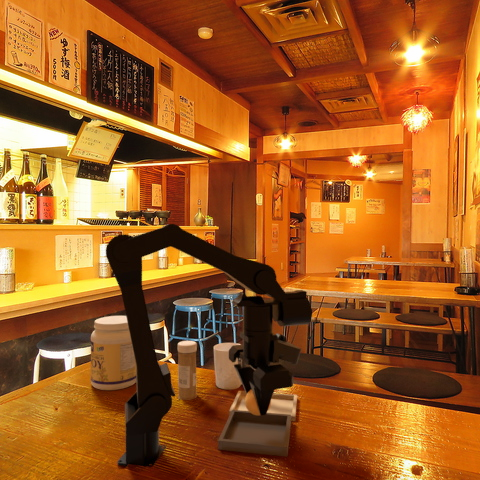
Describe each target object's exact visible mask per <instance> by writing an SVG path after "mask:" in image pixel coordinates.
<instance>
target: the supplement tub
mask: <svg viewBox="0 0 480 480" xmlns="http://www.w3.org/2000/svg"><path fill="white" fill-rule="evenodd" d="M93 329H94V330H93V331H92V333H91V335H90V383H91V385H92V387H94V388H95V389H98V390H101V391H115V390H116V391H117V390H123V389H126V388H129V387H131V386H133V385H134V384H135V383H136V361H135V356H134V351H133V346H132V341H131V336H130V332H129V327H128V322H127V317H126V315H110V316H109V315H108V316H104V317H100V318H97V319H96V320H94V325H93Z"/></svg>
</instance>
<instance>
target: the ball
mask: <svg viewBox="0 0 480 480" xmlns="http://www.w3.org/2000/svg"><path fill="white" fill-rule="evenodd" d="M245 405H246V408H247V409H248V411H249V412H250V413H252V414H254V415H260V412H259V410H258V407H257V404H256V401H255V397H254V394H253V391H252V389H251V390H250V391H249V392H248V393H247V395H246V398H245ZM270 405H271V401H270V404H269V407H268V410H269V408H270ZM268 410H267V411H268Z"/></svg>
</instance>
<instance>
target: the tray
mask: <svg viewBox="0 0 480 480" xmlns="http://www.w3.org/2000/svg"><path fill="white" fill-rule="evenodd" d="M246 395H247V394H246V392H245V390H238V391H237V393H236V396H235V398H234V399H233V403H231V406H230V408H229V411H228V415H229V416H230V413H231V411H232V410H241V411H248V409H247V408H246V405H245V398H246ZM297 402H298V394H290V393H289V394H288V393H275V392H274V393H273V395H272V398H271V405H270V408H269V410H268V411H267V413H277V414H290V415H291V422H296V417H297V404H298V403H297Z"/></svg>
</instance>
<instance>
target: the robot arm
mask: <svg viewBox="0 0 480 480" xmlns="http://www.w3.org/2000/svg"><path fill="white" fill-rule="evenodd" d="M170 247H171V248H173V249H175V250H177V251H180V252H181V253H184V254H185V255H188V256H190V257H192V258H193V259H197V260H198V261H200V262H202V263H204V264H206V265H208V266H211V267H213V268H215V269H216V270H219V271H221V272H223V273H224V274H225V275H226V276H228V277H229V278H230V279H231V280H233V281H234V282H235V283H237V284H238V285H240V286H241V287H242V288H244V289H245V290H247V291H249V292H252V293H254V294H257V295H249V296H248V295H246V293H244V292H242V291H241V292H240V293H239V294H238V296H236V297H235V298H233V300H232V302H231V303H232V304H233V306H236V307H238V308H242V331H239V337H240V338H241V339H242V344H241V345H233V346H232V347H231V348H230V349H229V360H231V361H232V362H236V358H238V364H235V365H234V368H235V369H236V371H237V374H238V376H239V378H240V380H241V383H242V385H241V386H243V389H244V390H243V391H245V392H246V394H247V393H248V392H249V391H250V390H251V389H252V391H253V394H254V397H255V401H256V404H257V407H258V410H259V412H260V415H266V413H267V410H268V407H269V404H270V401H271V398H272V395H273V393H275V390H280V389H288V388H292V387H293V386H294V374H293V373H292V372H291V371H290V370H289V369H288V368H286V367H285V366H284V365H282V364H281V363H280V360H281V361H285V362H289V363H291V364H292V365H298V362H299V358H300V355H301V353H302V352H301V351H302V348H300V347H299V346H297V345H295V344H293V343H292V342H289V341H287V336H286V335H284V334H280V333H278V332H276V333H274V331H273V330H274V329H273V327H274V326H273V323H274V322H276V324H278V326H280V327H289V326H290V327H291V326H304V325H309V324H310V323H311V321H312V319H313V309H312V306H311V302H310V300H309V298H308V295H307V294H308V292H307V291H306V290H303V289H300V290H299V289H296V290H294V291H293V290H292V291H284V289H283V288H282V286H281V285H280V283H279V281H278V280H277V274H276V271H275V269H274V267H272V266H271V265H269V264H266V263H263V262H259V261H255V260H253V259H248V258H246V257H241V256H237V255H234V254H233V253H230V252H229V251H228V250H225V249H223V248H222V247H221V248H220V247H218V246H217V245H215V244H212V243H210V241H209V242H208V241H207V240H204V239H203V238H202V237H199V236H198V235H194V234H193V233H190V232H189V231H187V230H184V229H183V228H181V227H180V226H179V225H178V224H175V223H168V224H165V225H162V227H160V228H157V229H153V230H150V231H147V232H143V233H141V234H138V235H134V236H133V235H129V234H125V233H124V234H119V235H115V236H114V237H112V238H111V239H110V240H109V242H108V243H107V244H106V248H105V256H106V259H107V262H108V264H109V266H110V269H111V272H112V274H113V276H114V278H115V280H116V283H117V285H118V287H119V289H120V290H119V291H120V293H121V297H122V301H123V308H124V312H125V316H126V317H127V322H128V327H129V332H130V336H131V341H132V346H133V351H134V356H135V361H136V391H135V392H134V393H133V394H132V395H131V396H130V397H129V398H128V400H126V402H125V403H124V419H125V421H124V425H125V452H124V453H123V455H122V456H121V457H119V459H118V460H117V463H116V464H117V466H123V467H128V465H130V466H131V465H132V466H138V467H139V466H140V467H150V468H151V467H153V466H154V465H155V464H156V462H157V461H158V460H159V458H160V457H161V455H162V454H163V452H164V451H165V450H166V448H167V445H164V444H160V426H161V423H162V420H163V417H165V416H166V415H167V414H168V413H169V412H170V410H171V409H172V406H173V397H176V393H175V389H174V387H173V384H172V374H171V371H170V367H169V366H168V363H167V362H164V363H162V364H160V363H159V360H158V357H157V354H156V348H155V342H154V339H153V332H152V327H151V324H150V319H149V314H148V309H147V303H146V299H145V294H144V289H143V257H146V256H148V255H152V254H154V253H157V252H159V251H160V252H161V250H165V249H166V248H167V249H168V248H170ZM262 295H263V296H267V297H269V298H271V299H264V298H263V297H262ZM271 363H273V364H271ZM277 363H279V364H277Z"/></svg>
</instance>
